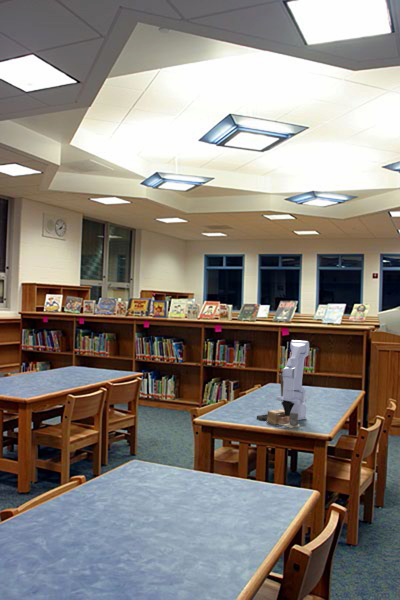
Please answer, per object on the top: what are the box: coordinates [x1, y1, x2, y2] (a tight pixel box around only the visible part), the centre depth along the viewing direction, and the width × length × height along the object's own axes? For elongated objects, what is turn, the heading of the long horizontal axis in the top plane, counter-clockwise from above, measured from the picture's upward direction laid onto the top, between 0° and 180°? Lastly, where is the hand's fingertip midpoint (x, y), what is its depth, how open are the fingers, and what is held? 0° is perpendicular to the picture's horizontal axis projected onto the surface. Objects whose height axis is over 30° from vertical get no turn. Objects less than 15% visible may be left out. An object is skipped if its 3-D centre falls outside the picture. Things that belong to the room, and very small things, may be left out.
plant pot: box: [278, 372, 296, 396], centre depth 365 cm, size 16×16×16 cm
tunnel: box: [266, 408, 290, 426], centre depth 280 cm, size 11×6×6 cm, turn 129°
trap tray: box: [256, 413, 268, 422], centre depth 287 cm, size 9×5×2 cm, turn 129°
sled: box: [277, 412, 301, 429], centre depth 277 cm, size 7×18×7 cm, turn 39°
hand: (287, 415), depth 275 cm, fingers closed
